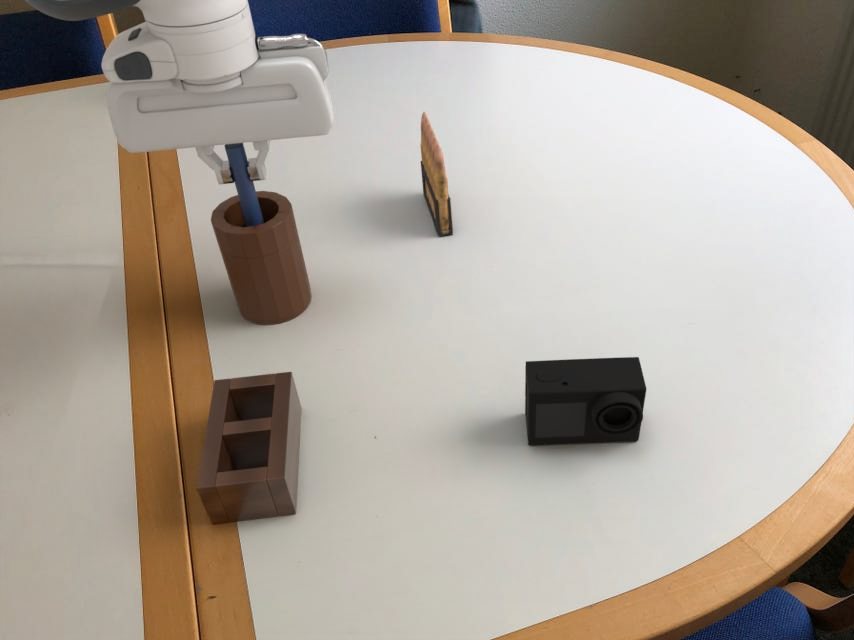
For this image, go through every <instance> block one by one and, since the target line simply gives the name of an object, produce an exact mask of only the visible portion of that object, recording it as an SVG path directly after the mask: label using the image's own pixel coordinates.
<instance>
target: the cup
mask: <svg viewBox="0 0 854 640" xmlns="http://www.w3.org/2000/svg"><path fill="white" fill-rule="evenodd" d="M256 194H257V198H258V202H259V206H260V209H261V213H262V217H263V221H264V223H263V224H260V225H257V226H250V227H247V225H246V221H245V218H244V214H243V211H242V207H241V204H240V200H239V196H238V194H237V195H233V196H231V197H229V198H227V199H225V200H223V201H222V202H220V203H219V204H218V205H217V206H216V207H215V208H214V209H213V210H212V212H211V216H210V222H211V226H212V229H213V233H214V236H215V239H216V241H217V242H216V243H217V245H218V248H219V252H220V254H221V257H222V261H223V265H224V267H225V270H226V274H227V277H228V280H229V283H230V287H231V290H232V293H233V296H234V299H235V303H236V306H237V307H238V311H239V312H240V315H241V316H242V317H243V319H245V320H247V321H248V322H251V323H253V324H258V325H268V326H269V325H279V324H282V323H285V322H289V321H291V320H293V319H295V318H297V317H298V316H299V317H300V316H301V314H303V313H304V312H305V311H306V310H307V309H308V308H309V306H310V304H311V302H312V292H311V291H312V289H311V284H310V279H309V276H308V272H307V266H306V263H305V258H304V253H303V249H302V245H301V239H300V236H299V231H298V228H297V223H296V218H295V214H294V210H293V204H292V203H291V202H290V200H289V199H288V197H287V196H285V195H282V194H280V193H278V192H275V191H267V190H258V191H256Z"/></svg>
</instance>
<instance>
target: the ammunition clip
mask: <svg viewBox="0 0 854 640" xmlns="http://www.w3.org/2000/svg"><path fill="white" fill-rule="evenodd" d="M420 154H421V160H420V171H421V179H422V180H421V183H422V193H423V197H424V200H425V203H426V205H427V209H428V211H429V214H430V217H431V220H432V223H433V225H434V228H435V232H436V234H437V237H438V238H441V237H447V236H453V235H454V229H453V217H452V202H451V198H450V197H451V196H450V195H449V185H448V176H447V172H446V166H445V159H444V154H443V151H442V148H441V146H440V144H439V141H438V138H437V137H436V134H435V132H434V128H433V127H432V125H431V122H430V120H429V117H428V115H427V113H426V112H425V111H422V114H421V118H420Z"/></svg>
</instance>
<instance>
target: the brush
mask: <svg viewBox="0 0 854 640" xmlns="http://www.w3.org/2000/svg"><path fill="white" fill-rule="evenodd" d="M224 151H225V153H226V157H227V161H229V164H230V168H231V171H232V175H233V179H234V185H235V189H236V193H237V195H238V196H239V200H240V204H241V207H242V211H243V214H244V218H245V221H246V225H247V227H250V226H257V225H260V224H263V223H264V221H263V217H262V213H261V209H260V206H259V202H258V198H257V194H256V187H255V183H254V181H251V180H250V174H249V173H248V169H247V165H248V158H247V153H246V149H245V145H244V143H236V144H225V145H224Z"/></svg>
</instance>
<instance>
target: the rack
mask: <svg viewBox="0 0 854 640" xmlns="http://www.w3.org/2000/svg"><path fill="white" fill-rule="evenodd" d="M213 381H214V382H213V387H212V393H211V398H210V399H211V400H210V405H209V411H208V415H207V423H206V429H205V434H204V439H203V440H204V441H203V447H202V451H201V452H202V453H201V457H200V465H199V470H198V476H197V482H196V487H195V488H196V489H195V490H196V491H197V493H198V496H199V498H200V501H201V503H202V504H203V507H204V510H205V511H206V514H207V516H208V518H209V520H210V523H211V525H218V524H226V523H233V522H241V521H250V520H259V519H265V518H274V517H281V516H282V517H283V516H290V515H296V514H297V503H298V487H299V483H298V482H299V464H300V445H301V444H300V443H301V423H302V405H301V400H300V397H299V394H298V390H297V386H296V383H295V378H294V375H293V372H292V371H283V372H276V373H274V372H273V373H266V374H257V375H249V376H239V377H231V378H223V379H222V378H221V379H215V380H213Z"/></svg>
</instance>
